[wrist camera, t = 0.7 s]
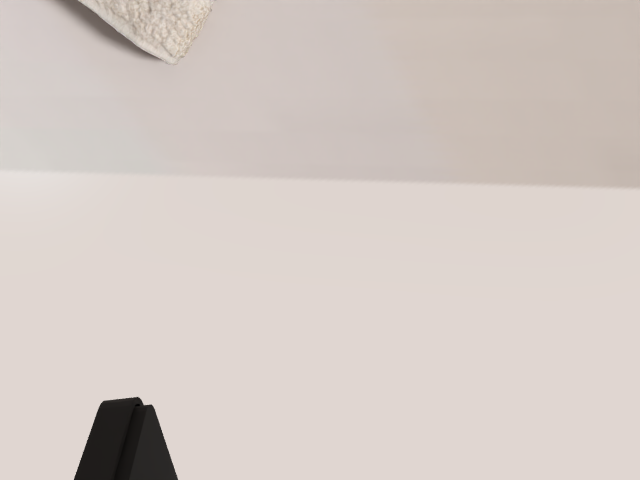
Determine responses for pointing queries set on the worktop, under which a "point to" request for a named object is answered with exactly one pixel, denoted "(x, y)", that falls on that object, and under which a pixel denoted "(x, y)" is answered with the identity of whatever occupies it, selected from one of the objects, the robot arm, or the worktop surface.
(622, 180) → the worktop surface
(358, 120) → the worktop surface
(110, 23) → the washcloth
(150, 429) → the robot arm
